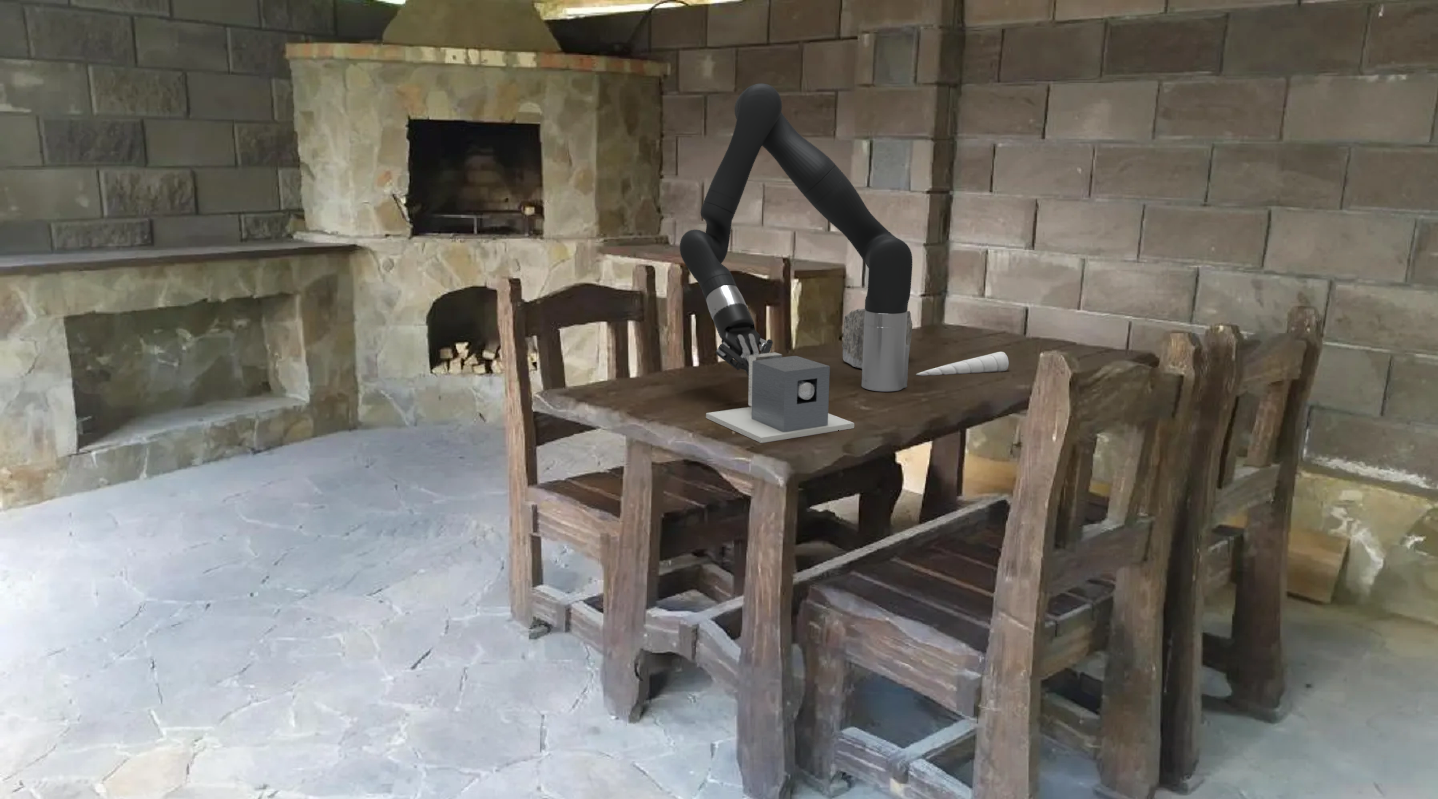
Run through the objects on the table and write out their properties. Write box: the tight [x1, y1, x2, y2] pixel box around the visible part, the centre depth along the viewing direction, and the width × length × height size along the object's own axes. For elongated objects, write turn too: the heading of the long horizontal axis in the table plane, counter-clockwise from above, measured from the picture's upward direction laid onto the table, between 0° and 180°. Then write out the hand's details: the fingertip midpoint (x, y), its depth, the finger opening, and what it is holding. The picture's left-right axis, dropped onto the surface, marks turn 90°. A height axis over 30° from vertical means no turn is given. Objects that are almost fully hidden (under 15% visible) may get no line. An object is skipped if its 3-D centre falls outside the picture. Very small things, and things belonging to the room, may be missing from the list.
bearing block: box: [751, 355, 831, 432], centre depth 195 cm, size 10×11×11 cm
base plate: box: [705, 406, 855, 444], centre depth 199 cm, size 21×20×1 cm
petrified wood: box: [841, 308, 913, 369], centre depth 253 cm, size 19×17×15 cm
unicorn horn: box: [915, 351, 1009, 377], centre depth 245 cm, size 5×24×5 cm, turn 105°
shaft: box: [747, 351, 815, 407], centre depth 196 cm, size 6×16×10 cm, turn 31°
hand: (760, 383), depth 204 cm, fingers closed
